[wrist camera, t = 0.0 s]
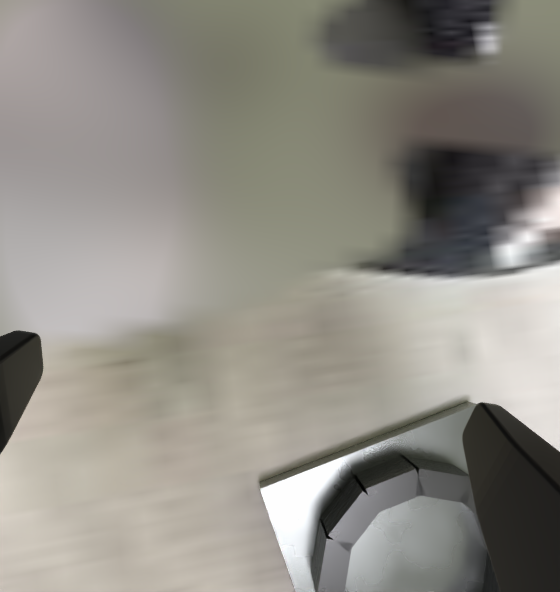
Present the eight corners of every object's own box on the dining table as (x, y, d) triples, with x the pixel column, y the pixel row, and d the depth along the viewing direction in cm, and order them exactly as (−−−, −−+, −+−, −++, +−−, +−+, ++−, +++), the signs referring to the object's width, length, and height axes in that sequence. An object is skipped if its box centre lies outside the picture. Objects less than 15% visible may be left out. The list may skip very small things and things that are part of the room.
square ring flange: (548, 617, 24) (594, 661, 21) (338, 710, 23) (352, 770, 20) (468, 401, 25) (500, 412, 21) (259, 482, 24) (260, 505, 20)
